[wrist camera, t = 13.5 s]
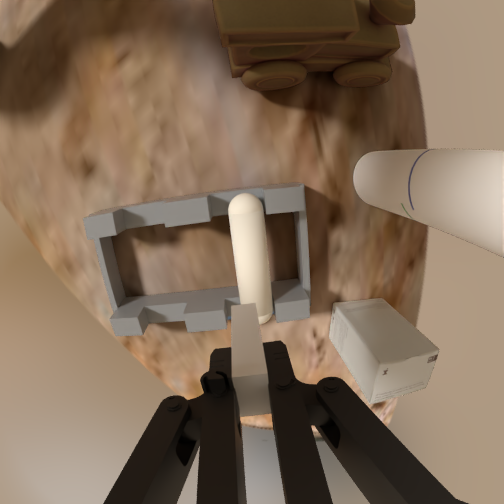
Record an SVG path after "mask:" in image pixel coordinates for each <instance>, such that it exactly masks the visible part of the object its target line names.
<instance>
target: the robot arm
mask: <svg viewBox="0 0 504 504" xmlns="http://www.w3.org/2000/svg"><path fill="white" fill-rule="evenodd" d="M200 381H201V385H202V388H203V391H204V393H203V394H202V395H201V396H199V397H197V398H194V399H190V400H187V399H186V398H184V397H182V396H170V397H167V398H166V399H164V400H163V401H162V402H161V403H160V405H159V407H158V409H157V411H156V412H155V414H154V416H153V417H152V419H151V421H150V423H149V424H148V426H147V428H146V430H145V431H144V433H143V435H142V437H141V438H140V440H139V442H138V444H137V445H136V447H135V449H134V451H133V452H132V454H131V456H130V458H129V459H128V461H127V463H126V465H125V466H124V468H123V470H122V472H121V474H120V475H119V477H118V479H117V481H116V482H115V484H114V486H113V488H112V489H111V491H110V493H109V495H108V496H107V498H106V500H105V502H104V503H103V504H177V501H178V499H179V496H180V494H181V491H182V488H183V486H184V484H185V481H186V479H187V476H188V474H189V471H190V469H191V466H192V464H193V461H194V459H195V456H196V453H197V451H198V448H199V446H200V452H199V467H198V484H197V504H247V500H246V488H245V487H246V486H245V473H244V457H243V441H242V425H241V421H240V417H244V416H254V415H262V414H270V413H271V414H272V422H273V431H274V435H275V441H276V447H277V453H278V460H279V466H280V472H281V478H282V484H283V491H284V496H285V503H286V504H333V503H332V499H331V495H330V492H329V488H328V485H327V481H326V477H325V474H324V470H323V467H322V463H321V459H320V456H319V452H318V449H317V445H316V442H315V438H314V435H313V431H312V428H311V425H313V426H315V427H316V429H317V430H318V431H319V433H320V434H321V436H322V437H323V439H324V440H325V442H326V443H327V445H328V446H329V447H330V449H331V450H332V451H333V453H334V455H335V456H336V457H337V459H338V460H339V462H340V463H341V464H342V466H343V467H344V469H345V470H346V471H347V473H348V474H349V476H350V477H351V478H352V480H353V481H354V482H355V484H356V485H357V487H358V488H359V489H360V491H361V492H362V493H363V495H364V496H365V497H366V499H367V500H368V501H369V503H370V504H468V503H465V502H463V501H460V500H458V499H455V498H454V497H453V495H452V494H451V493H450V492H448V490H447V489H446V488H445V487H444V486H443V485H442V484H441V483H440V482H439V481H438V480H437V479H436V478H435V477H434V476H433V475H432V474H431V473H430V472H429V471H428V470H427V469H426V468H425V467H424V466H423V465H422V464H421V463H420V462H419V461H418V460H417V458H416V457H415V456H414V455H413V454H412V453H411V452H410V451H409V450H408V449H407V448H406V447H405V446H404V445H403V444H402V443H401V442H400V441H399V440H398V438H397V437H395V435H394V434H393V433H392V432H391V431H390V430H389V429H388V428H387V427H386V426H385V425H384V424H383V423H382V421H381V420H380V419H379V418H378V417H377V416H376V415H375V414H374V413H373V412H372V411H371V410H370V409H369V407H368V406H367V405H366V404H365V403H364V402H363V401H362V400H361V399H360V398H359V397H358V396H357V394H356V393H355V392H354V391H353V390H352V389H351V388H350V387H349V386H348V385H347V384H346V383H345V381H343V380H342V379H341V378H337V377H327V378H323V379H322V380H320V381H319V382H318V383H317V385H316V384H305V383H302V382H300V381H298V380H297V379H296V378H295V375H294V372H293V369H292V365H291V362H290V358H289V355H288V351H287V348H286V345H285V344H284V343H283V342H282V341H273V342H266V343H262V337H261V331H260V325H259V320H258V314H257V308H256V303H250V304H241V305H233V306H231V347H229V348H219V349H214V351H213V352H212V354H211V356H210V368H209V371H208V372H206V373H205V374H204V375H202V377H201V379H200Z"/></svg>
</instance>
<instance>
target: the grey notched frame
mask: <svg viewBox="0 0 504 504" xmlns="http://www.w3.org/2000/svg"><path fill="white" fill-rule="evenodd" d="M242 193H249V194H253V195H255V196H256V197H258V198H259V199H260V201H261V203H262V205H263V209H264V211H265V213H266V214H276V213H285V212H294V225H295V238H296V253H297V269H298V278H296V279H289V280H281V281H273V282H271V291H272V302H273V313H272V314H275V318H276V322H277V323H279V322H286V321H293V320H300V319H306V318H310V308H309V306H311V295H310V268H309V248H308V231H307V216H306V202H305V190H304V184H303V183H299V182H294V183H283V184H273V185H263V186H254V187H245V188H236V189H228V190H220V191H213V192H206V193H198V194H192V195H185V196H178V197H172V198H166V199H160V200H154V201H148V202H142V203H137V204H131V205H126V206H121V207H115V208H110V209H105V210H101V211H98V212H95V213H93V214H90V215H89V216H87V217H85V218H83V221H84V226H85V231H86V235H87V240H90V239H94V243H95V247H96V252H97V256H98V260H99V264H100V268H101V272H102V275H103V279H104V283H105V286H106V290H107V293H108V296H109V300H110V303H111V306H112V309H113V312H114V314H113V315H112V316H111V318H110V322H111V324H112V327H113V330H114V333H115V336H133V335H143V334H144V332H145V330H146V328H147V326H148V324H149V323H160V322H174V321H185V324H186V328H187V332H198V331H209V330H220V329H227V320H229V319H231V306H233V305H241V303H240V296H239V289H238V286H232V287H224V288H215V289H206V290H196V291H187V292H177V293H167V294H156V295H145V296H134V297H126V296H125V292H124V288H123V285H122V281H121V277H120V273H119V269H118V265H117V261H116V257H115V253H114V248H113V244H112V239H111V236H113V235H117V234H119V233H121V232H122V231H124V230H125V229H130V228H136V227H143V226H149V225H156V224H162V223H165V227H172V226H179V225H186V224H194V223H201V222H209V221H210V220H211V218H212V216H220V215H228V208H229V204H230V202H231V201H232V199H233V198H234V197H236V196H237V195H239V194H242Z"/></svg>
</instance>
